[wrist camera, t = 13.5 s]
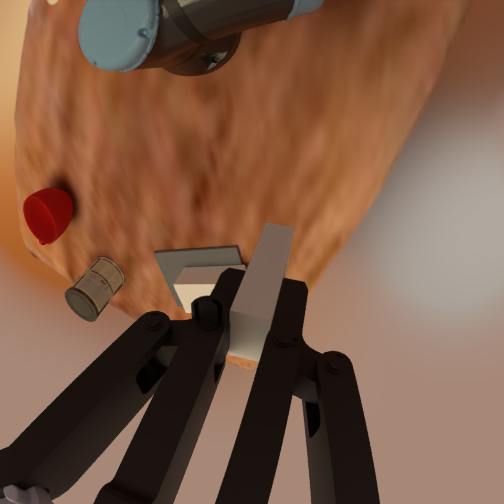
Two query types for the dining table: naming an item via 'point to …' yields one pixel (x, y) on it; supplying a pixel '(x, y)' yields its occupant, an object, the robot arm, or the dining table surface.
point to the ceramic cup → (48, 214)
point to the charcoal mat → (194, 261)
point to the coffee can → (95, 288)
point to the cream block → (198, 282)
